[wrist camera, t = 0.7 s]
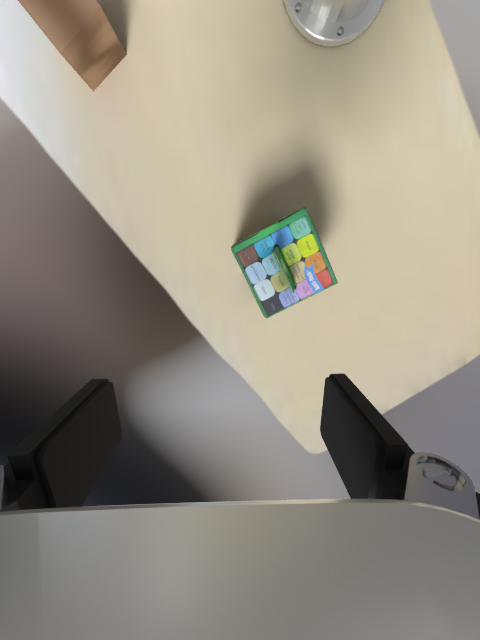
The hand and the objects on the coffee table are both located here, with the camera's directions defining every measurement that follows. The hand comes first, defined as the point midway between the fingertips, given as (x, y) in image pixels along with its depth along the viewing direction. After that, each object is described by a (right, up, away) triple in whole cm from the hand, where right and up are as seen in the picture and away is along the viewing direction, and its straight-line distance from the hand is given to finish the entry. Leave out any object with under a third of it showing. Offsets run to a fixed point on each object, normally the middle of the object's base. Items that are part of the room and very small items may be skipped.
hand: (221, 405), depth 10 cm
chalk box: (+6, +13, +26) cm, 30 cm away
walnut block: (-17, +37, +18) cm, 45 cm away
